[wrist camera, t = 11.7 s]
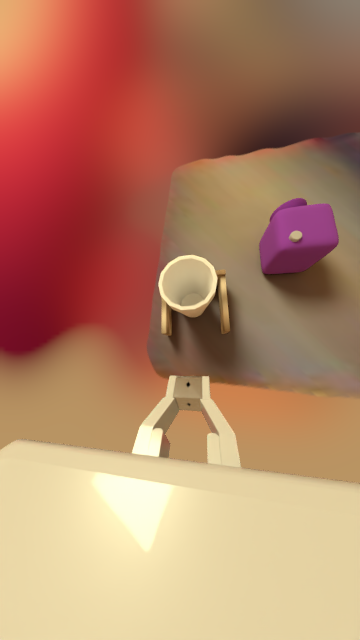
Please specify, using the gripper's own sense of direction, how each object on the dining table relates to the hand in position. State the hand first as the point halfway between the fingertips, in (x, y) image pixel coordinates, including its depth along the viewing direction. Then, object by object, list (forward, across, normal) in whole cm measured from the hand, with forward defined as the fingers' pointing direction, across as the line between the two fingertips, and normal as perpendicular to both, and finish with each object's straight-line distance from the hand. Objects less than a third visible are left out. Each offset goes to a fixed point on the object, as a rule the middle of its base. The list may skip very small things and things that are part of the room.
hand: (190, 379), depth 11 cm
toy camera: (+33, -20, -2) cm, 39 cm away
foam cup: (+24, +1, +6) cm, 25 cm away
